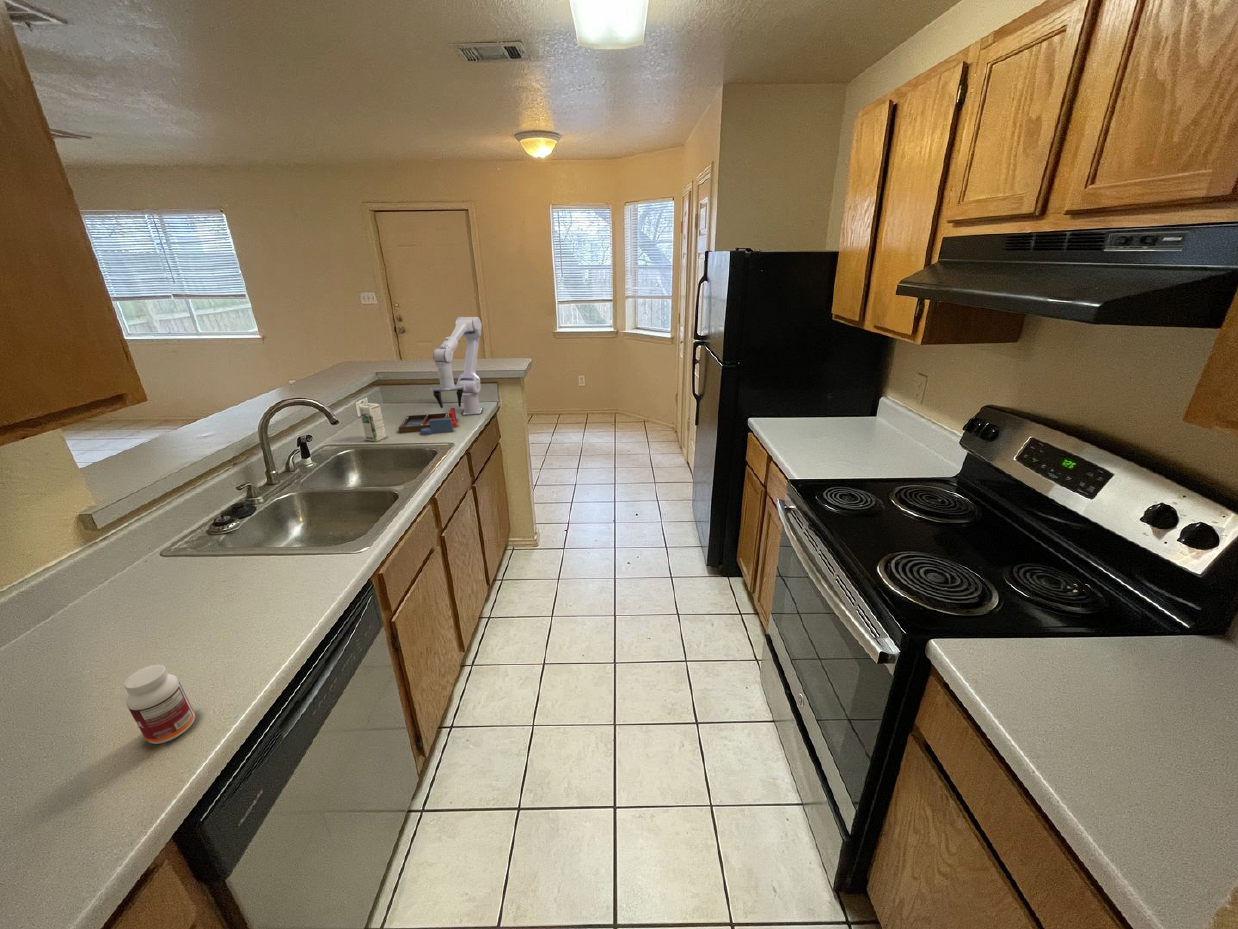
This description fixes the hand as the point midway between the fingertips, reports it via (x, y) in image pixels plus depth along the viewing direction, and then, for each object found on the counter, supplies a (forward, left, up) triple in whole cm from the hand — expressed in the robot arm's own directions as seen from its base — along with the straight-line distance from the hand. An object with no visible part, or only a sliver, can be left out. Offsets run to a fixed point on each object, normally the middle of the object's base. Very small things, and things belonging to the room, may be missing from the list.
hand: (450, 407), depth 224 cm
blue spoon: (+13, -5, -7) cm, 16 cm away
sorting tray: (+1, -12, -7) cm, 14 cm away
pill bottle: (+157, -24, -7) cm, 159 cm away
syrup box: (+15, -29, -7) cm, 33 cm away
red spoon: (+2, 0, -7) cm, 7 cm away
